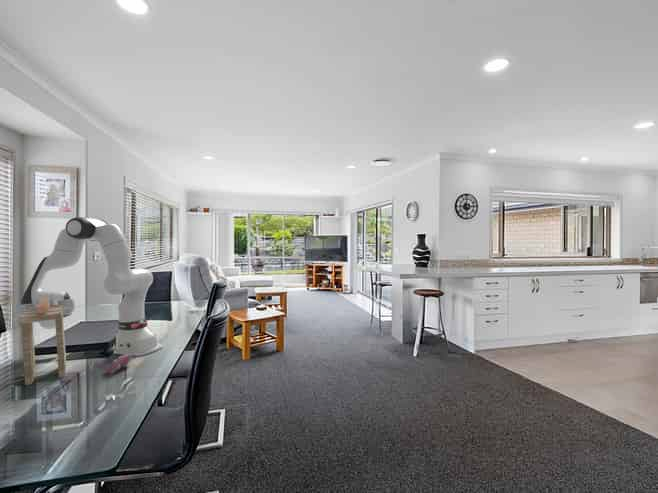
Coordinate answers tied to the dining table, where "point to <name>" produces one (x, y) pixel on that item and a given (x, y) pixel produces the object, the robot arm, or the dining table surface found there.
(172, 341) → the dining table surface
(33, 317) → the wooden stand
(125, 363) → the video game controller
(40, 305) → the terracotta bar
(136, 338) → the robot arm
